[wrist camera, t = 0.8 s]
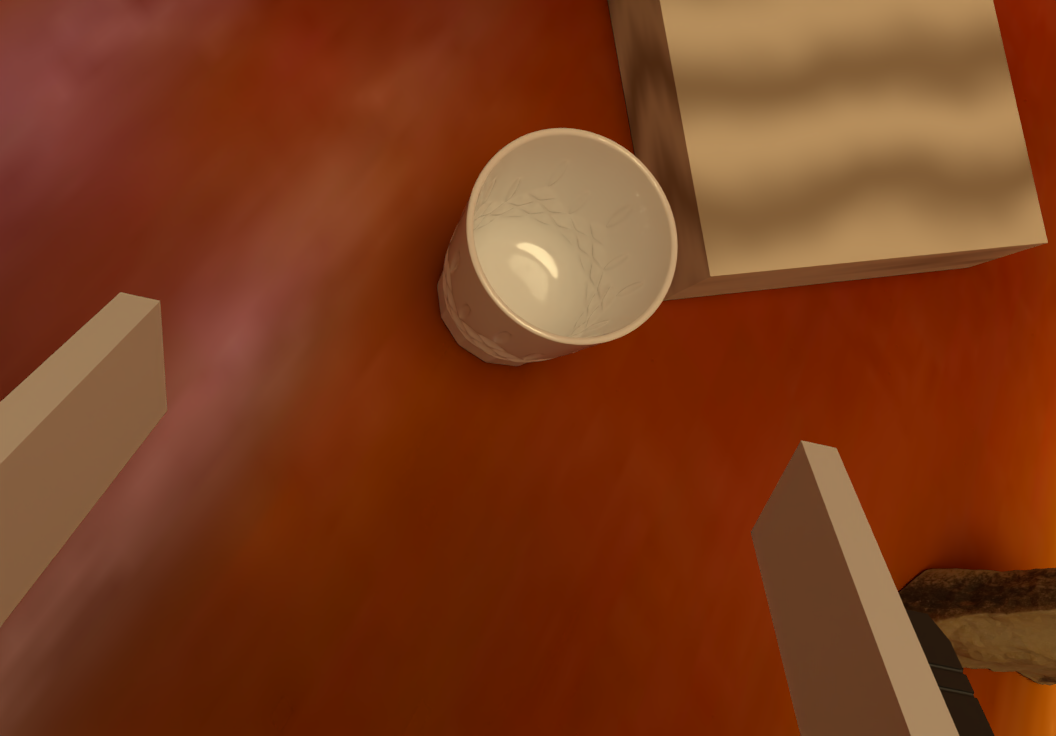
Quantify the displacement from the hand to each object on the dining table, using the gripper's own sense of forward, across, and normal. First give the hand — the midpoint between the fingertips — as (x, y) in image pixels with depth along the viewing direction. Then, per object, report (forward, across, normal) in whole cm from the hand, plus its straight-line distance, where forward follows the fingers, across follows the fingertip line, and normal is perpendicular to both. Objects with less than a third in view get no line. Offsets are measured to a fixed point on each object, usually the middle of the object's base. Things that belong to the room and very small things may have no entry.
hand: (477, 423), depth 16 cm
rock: (+16, +29, -20) cm, 38 cm away
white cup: (+20, 0, -8) cm, 21 cm away
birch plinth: (+32, +14, +1) cm, 35 cm away
